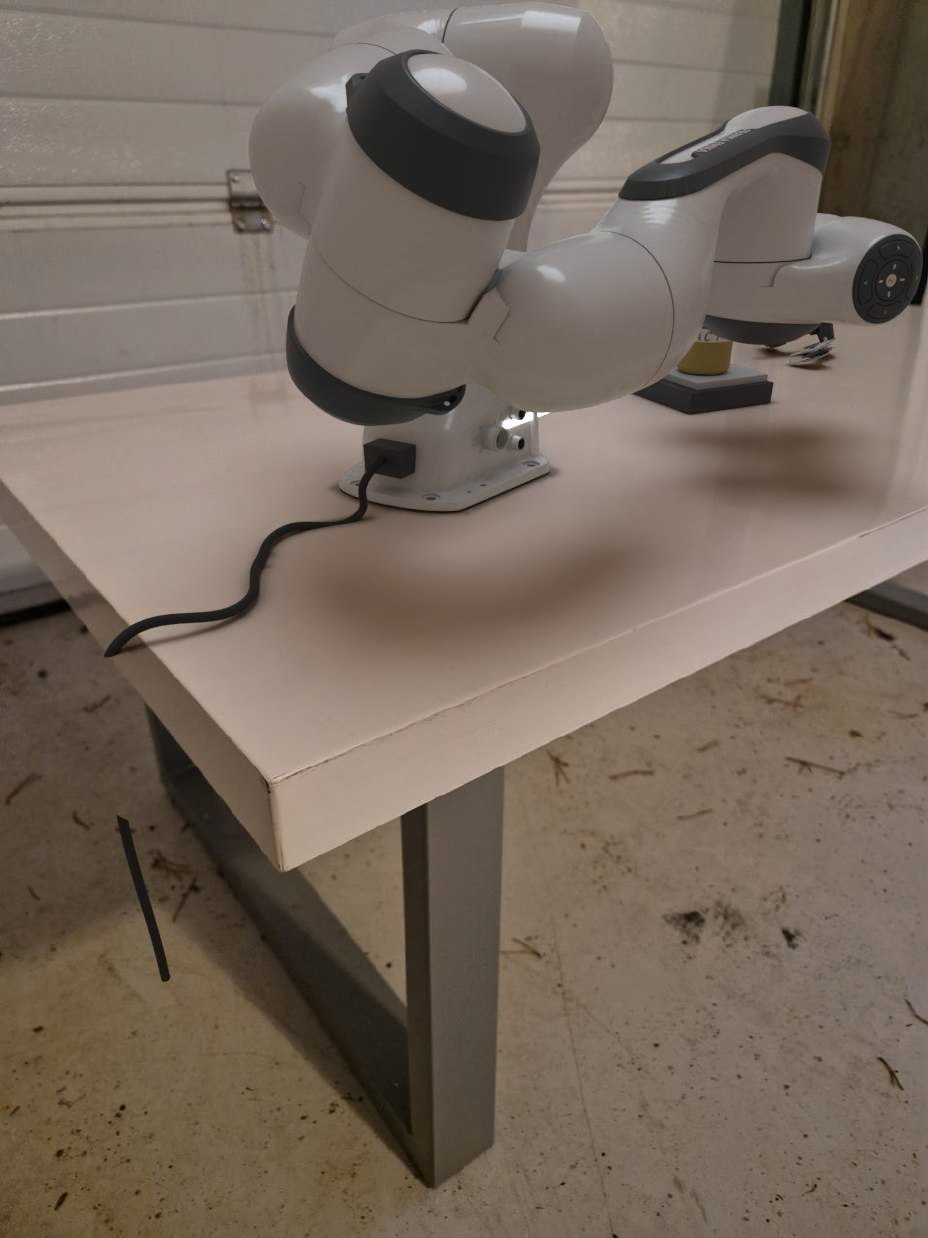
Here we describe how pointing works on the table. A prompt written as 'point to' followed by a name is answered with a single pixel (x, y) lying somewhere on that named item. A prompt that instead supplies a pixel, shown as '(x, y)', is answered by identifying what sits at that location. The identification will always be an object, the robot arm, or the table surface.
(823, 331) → the bicycle component
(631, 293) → the robot arm
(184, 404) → the table surface
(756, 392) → the scale
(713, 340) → the paper tube
